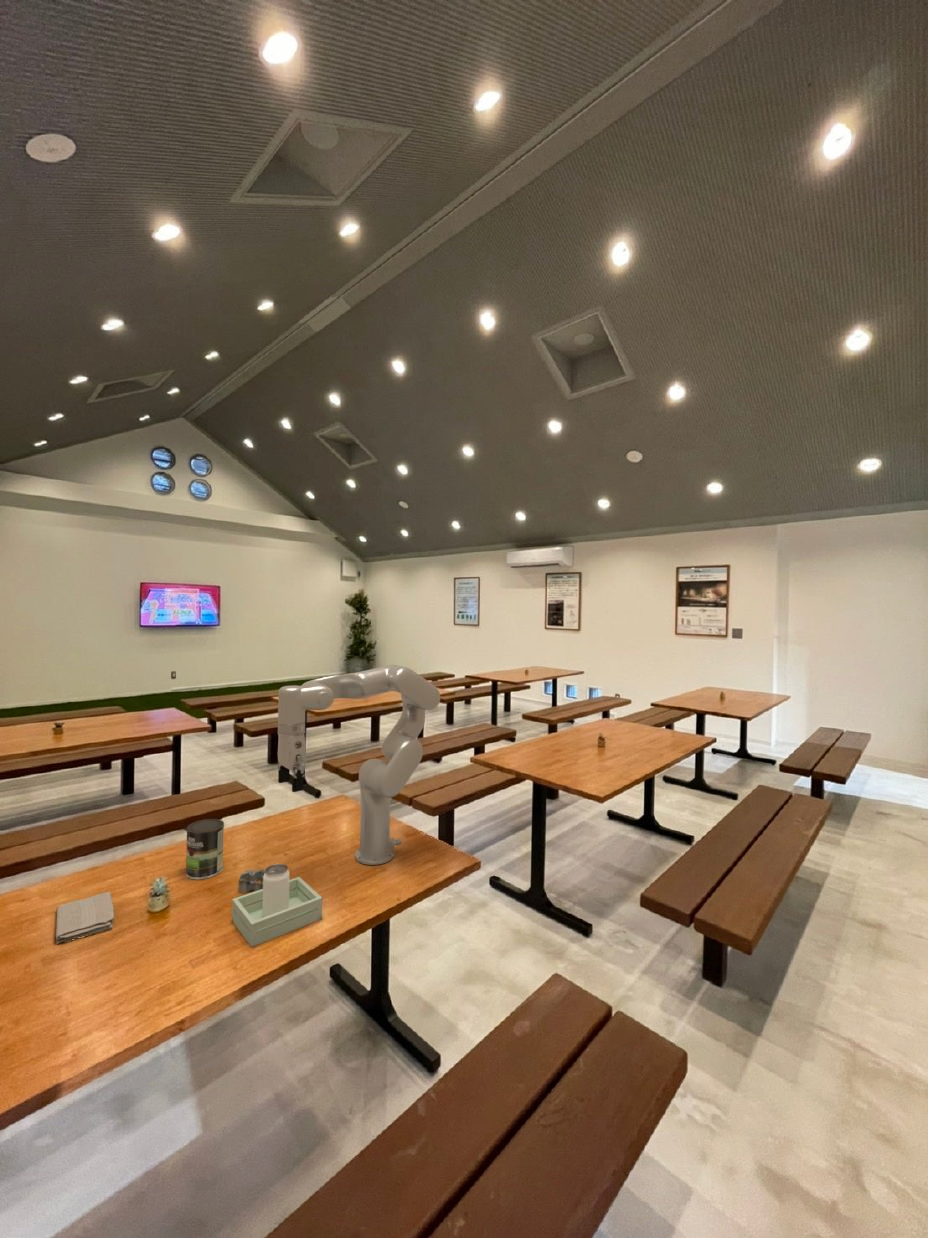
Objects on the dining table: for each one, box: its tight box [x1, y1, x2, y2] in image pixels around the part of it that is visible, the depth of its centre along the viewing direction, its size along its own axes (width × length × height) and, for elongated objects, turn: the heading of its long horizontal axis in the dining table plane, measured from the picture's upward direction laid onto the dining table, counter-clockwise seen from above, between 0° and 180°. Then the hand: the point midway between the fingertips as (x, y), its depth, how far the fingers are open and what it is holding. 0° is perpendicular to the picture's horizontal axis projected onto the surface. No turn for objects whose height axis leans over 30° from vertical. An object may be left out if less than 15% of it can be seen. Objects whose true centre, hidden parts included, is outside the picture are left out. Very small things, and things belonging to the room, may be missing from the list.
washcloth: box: [55, 891, 115, 945], centre depth 134 cm, size 12×18×3 cm, turn 38°
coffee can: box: [185, 818, 225, 881], centre depth 159 cm, size 10×10×14 cm
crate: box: [231, 876, 323, 948], centre depth 136 cm, size 18×14×6 cm
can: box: [262, 863, 290, 918], centre depth 136 cm, size 6×6×12 cm
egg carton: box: [237, 868, 266, 894], centre depth 152 cm, size 11×8×4 cm
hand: (290, 786), depth 154 cm, fingers open, 9 cm apart
